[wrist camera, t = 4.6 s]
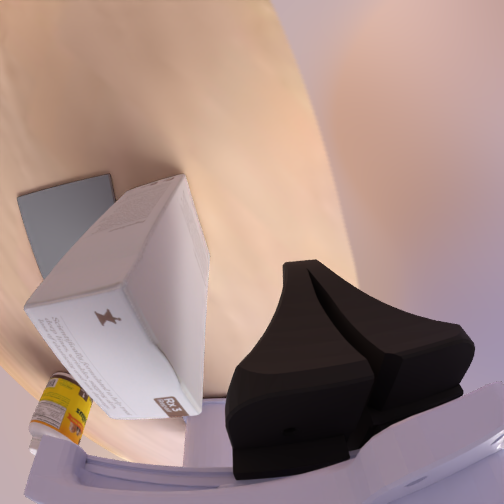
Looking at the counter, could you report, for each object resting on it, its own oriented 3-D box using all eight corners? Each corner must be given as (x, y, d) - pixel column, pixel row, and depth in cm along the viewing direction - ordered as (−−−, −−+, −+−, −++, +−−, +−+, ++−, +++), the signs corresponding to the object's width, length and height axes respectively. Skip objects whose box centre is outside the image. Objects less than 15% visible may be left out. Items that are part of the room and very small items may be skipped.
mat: (140, 293, 21) (139, 295, 20) (53, 297, 21) (52, 299, 20) (110, 173, 17) (108, 174, 16) (19, 196, 17) (16, 198, 16)
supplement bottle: (95, 405, 28) (75, 477, 19) (55, 389, 27) (28, 456, 18) (94, 381, 26) (67, 461, 16) (49, 362, 24) (15, 436, 15)
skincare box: (124, 190, 17) (7, 303, 7) (190, 169, 17) (118, 275, 6) (156, 272, 20) (102, 422, 9) (217, 258, 20) (204, 420, 9)
